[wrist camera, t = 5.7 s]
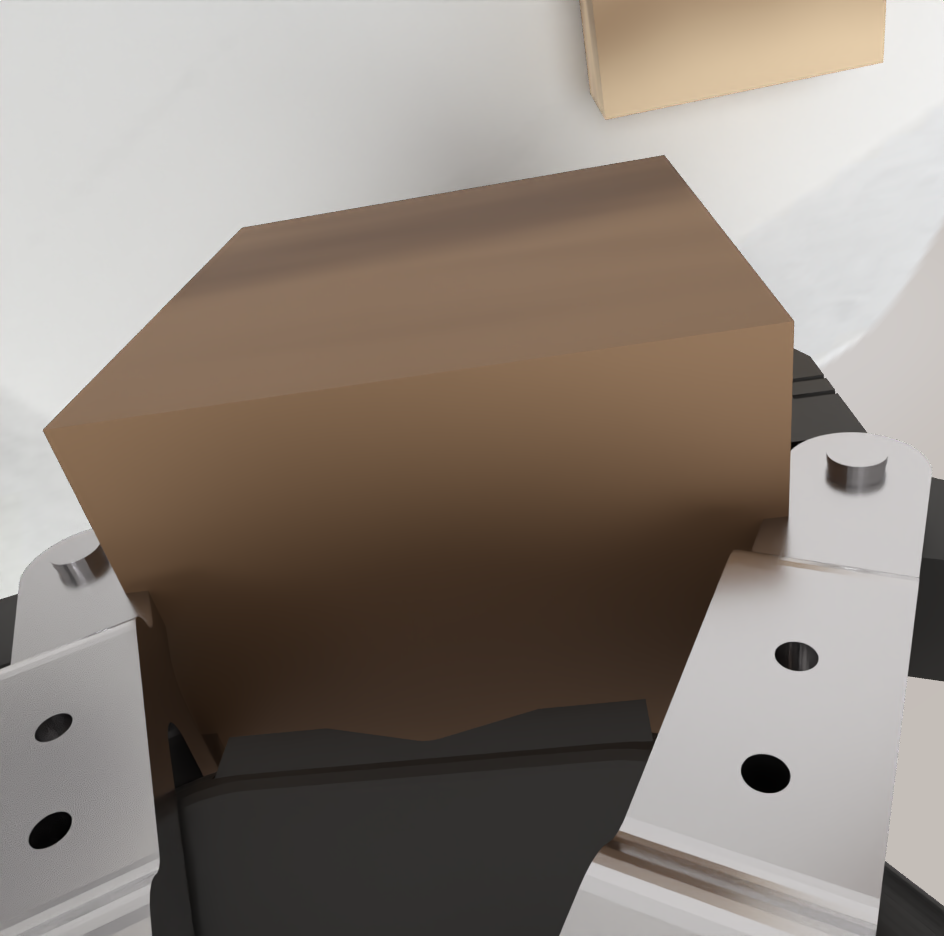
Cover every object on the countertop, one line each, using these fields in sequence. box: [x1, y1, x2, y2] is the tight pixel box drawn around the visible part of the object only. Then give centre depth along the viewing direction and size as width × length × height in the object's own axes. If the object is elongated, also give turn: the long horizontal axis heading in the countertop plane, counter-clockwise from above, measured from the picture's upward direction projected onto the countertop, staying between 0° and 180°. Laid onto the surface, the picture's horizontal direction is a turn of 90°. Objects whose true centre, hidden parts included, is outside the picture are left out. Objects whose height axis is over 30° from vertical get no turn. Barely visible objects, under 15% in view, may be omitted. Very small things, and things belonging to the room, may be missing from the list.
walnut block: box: [43, 155, 794, 748], centre depth 11 cm, size 6×6×6 cm
